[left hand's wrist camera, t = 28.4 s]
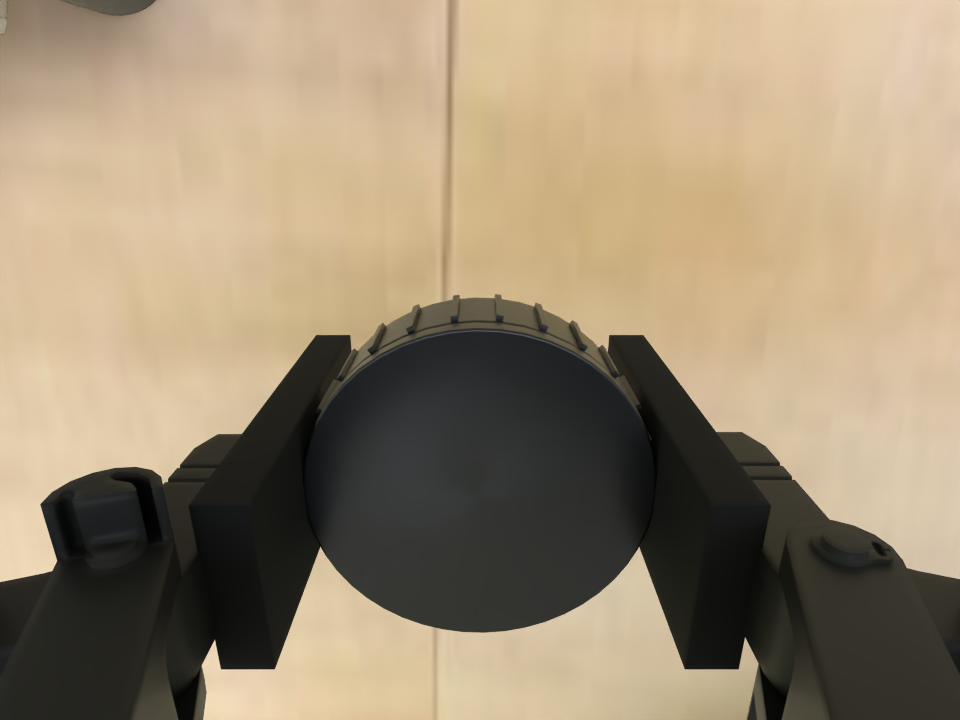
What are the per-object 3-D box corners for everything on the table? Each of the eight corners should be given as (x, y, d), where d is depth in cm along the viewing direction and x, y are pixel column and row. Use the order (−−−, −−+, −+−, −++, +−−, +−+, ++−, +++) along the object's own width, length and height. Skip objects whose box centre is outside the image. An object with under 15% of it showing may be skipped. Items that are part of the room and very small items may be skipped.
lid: (666, 310, 11) (699, 344, 9) (605, 582, 13) (623, 649, 11) (326, 275, 11) (297, 303, 9) (321, 557, 13) (298, 622, 11)
